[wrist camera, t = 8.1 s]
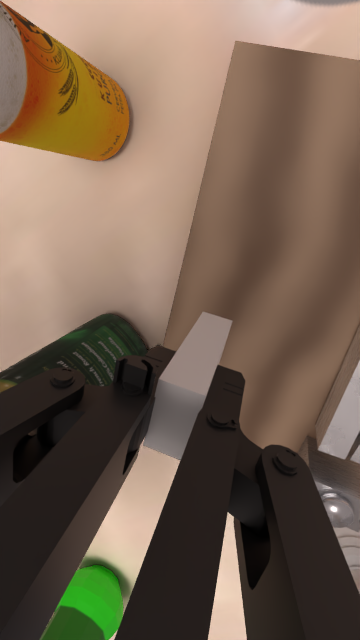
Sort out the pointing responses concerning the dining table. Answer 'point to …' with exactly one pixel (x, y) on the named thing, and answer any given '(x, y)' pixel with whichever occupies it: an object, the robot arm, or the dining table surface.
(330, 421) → the arm
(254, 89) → the cutting board
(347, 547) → the chalice
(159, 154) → the dining table surface
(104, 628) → the plastic bottle
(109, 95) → the beer can
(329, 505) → the grey l-shaped bar
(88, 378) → the coffee jar
